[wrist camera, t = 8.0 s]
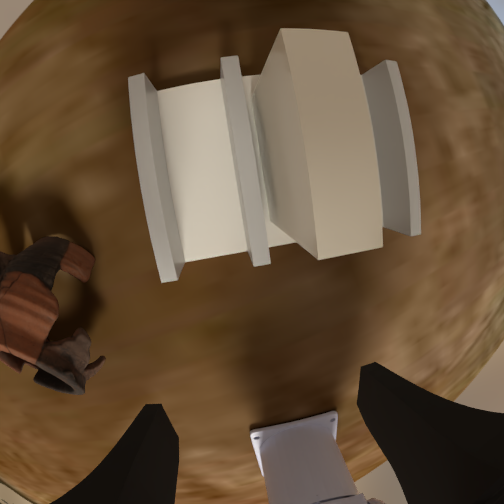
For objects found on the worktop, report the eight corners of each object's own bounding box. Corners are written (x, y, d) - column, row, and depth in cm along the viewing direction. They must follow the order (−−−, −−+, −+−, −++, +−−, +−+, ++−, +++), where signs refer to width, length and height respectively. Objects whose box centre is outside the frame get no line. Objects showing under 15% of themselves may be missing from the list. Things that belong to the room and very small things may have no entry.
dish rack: (390, 222, 17) (426, 233, 14) (166, 261, 16) (151, 284, 13) (370, 80, 15) (403, 62, 11) (140, 101, 14) (118, 80, 10)
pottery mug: (140, 266, 17) (110, 390, 11) (104, 321, 22) (84, 407, 16) (-5, 184, 11) (-76, 282, 5) (-4, 262, 16) (-41, 340, 10)
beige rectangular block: (307, 214, 16) (383, 247, 8) (269, 220, 16) (318, 260, 8) (289, 96, 14) (347, 32, 6) (250, 99, 14) (280, 28, 6)
